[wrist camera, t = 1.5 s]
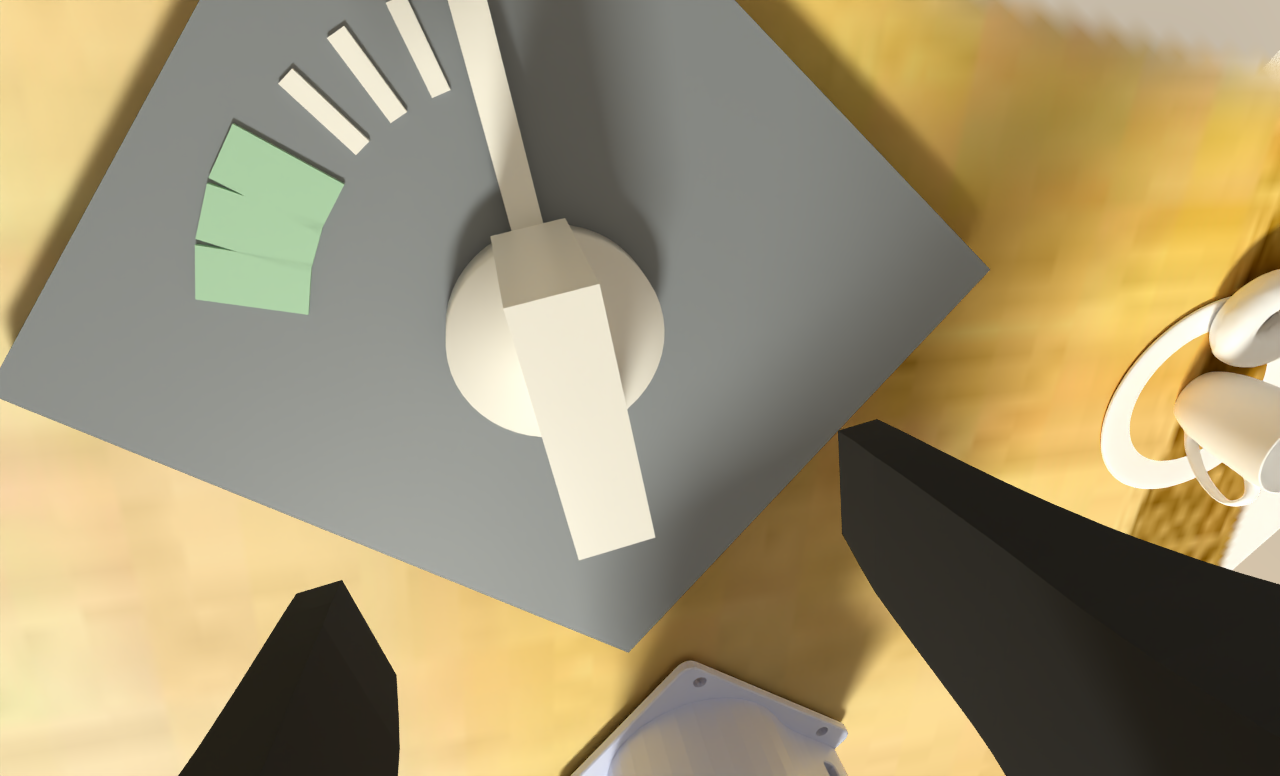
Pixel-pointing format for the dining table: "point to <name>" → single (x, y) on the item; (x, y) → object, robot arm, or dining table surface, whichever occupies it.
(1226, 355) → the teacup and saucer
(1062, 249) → the dining table surface
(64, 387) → the dial board
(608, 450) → the knob
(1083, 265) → the dining table surface
